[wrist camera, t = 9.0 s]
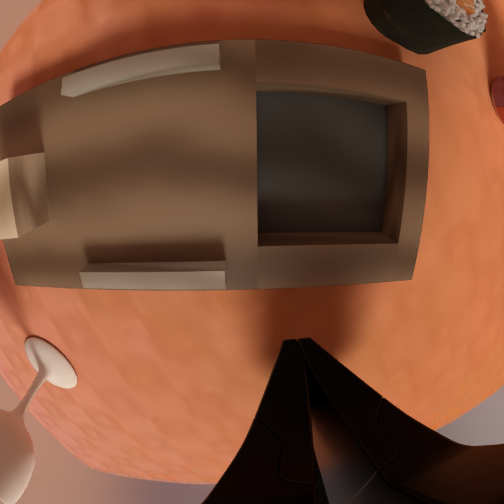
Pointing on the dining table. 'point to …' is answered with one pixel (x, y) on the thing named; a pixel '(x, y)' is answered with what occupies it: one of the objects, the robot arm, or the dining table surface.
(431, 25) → the sushi
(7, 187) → the block
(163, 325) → the dining table surface
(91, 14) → the dining table surface
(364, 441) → the robot arm
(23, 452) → the wineglass
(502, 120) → the beverage can
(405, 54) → the dining table surface
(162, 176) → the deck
